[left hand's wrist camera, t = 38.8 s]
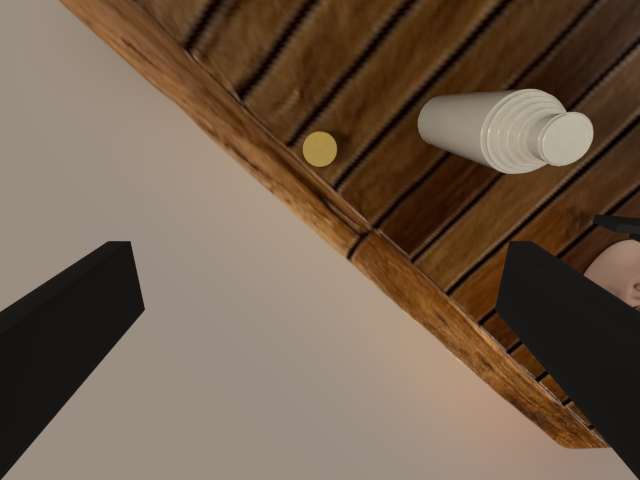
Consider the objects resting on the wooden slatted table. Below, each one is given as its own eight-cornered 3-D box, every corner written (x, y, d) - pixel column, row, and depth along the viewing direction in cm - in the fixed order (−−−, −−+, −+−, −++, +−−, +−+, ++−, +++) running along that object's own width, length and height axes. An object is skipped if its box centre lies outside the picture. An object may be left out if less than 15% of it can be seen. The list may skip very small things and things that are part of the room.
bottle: (466, 143, 48) (610, 183, 24) (418, 149, 48) (513, 194, 25) (468, 91, 46) (629, 78, 22) (417, 98, 46) (521, 93, 22)
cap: (340, 135, 48) (341, 137, 46) (331, 168, 49) (331, 170, 48) (308, 126, 47) (307, 127, 46) (299, 159, 49) (299, 161, 47)
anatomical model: (589, 308, 53) (628, 238, 49) (572, 294, 57) (607, 229, 52) (669, 322, 54) (714, 255, 50) (647, 308, 58) (687, 245, 53)
